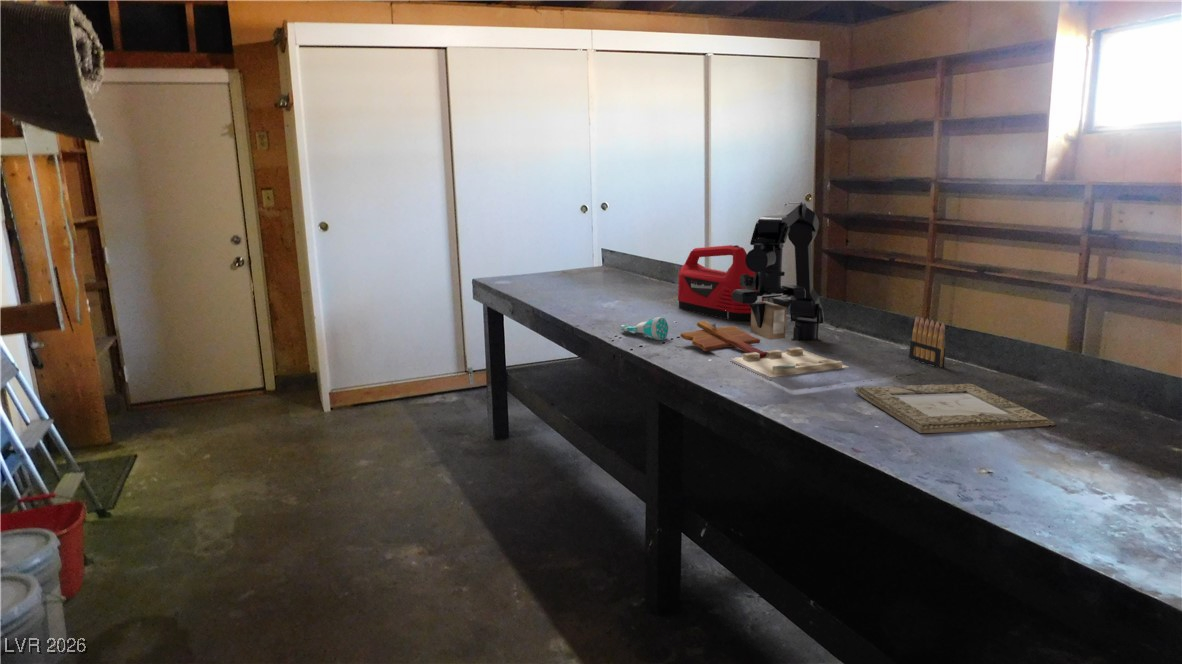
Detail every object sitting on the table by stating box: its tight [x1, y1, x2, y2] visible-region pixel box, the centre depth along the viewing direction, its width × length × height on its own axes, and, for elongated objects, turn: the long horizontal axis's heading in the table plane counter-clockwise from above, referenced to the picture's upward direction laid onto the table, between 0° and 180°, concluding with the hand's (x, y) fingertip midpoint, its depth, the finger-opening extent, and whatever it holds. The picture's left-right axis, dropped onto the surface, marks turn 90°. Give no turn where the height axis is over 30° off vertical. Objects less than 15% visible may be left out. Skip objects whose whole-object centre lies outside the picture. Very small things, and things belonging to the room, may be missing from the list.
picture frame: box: [854, 383, 1056, 434], centre depth 160 cm, size 27×30×3 cm
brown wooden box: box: [750, 300, 787, 340], centre depth 189 cm, size 4×9×8 cm, turn 20°
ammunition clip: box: [908, 316, 946, 368], centre depth 195 cm, size 11×2×12 cm, turn 21°
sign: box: [679, 320, 766, 358], centre depth 213 cm, size 20×6×30 cm
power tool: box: [677, 244, 765, 322], centre depth 264 cm, size 16×40×25 cm, turn 33°
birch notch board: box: [729, 346, 849, 382], centre depth 194 cm, size 24×19×3 cm
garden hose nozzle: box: [620, 316, 669, 341], centre depth 234 cm, size 7×18×20 cm
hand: (767, 326), depth 190 cm, fingers closed on brown wooden box, 4 cm apart
